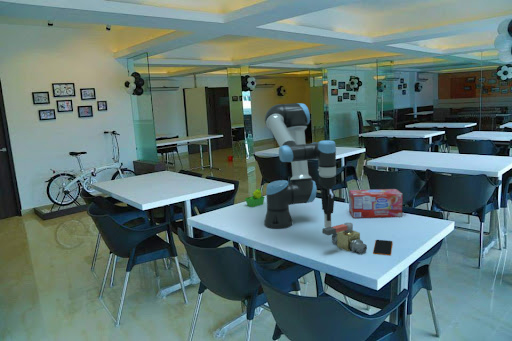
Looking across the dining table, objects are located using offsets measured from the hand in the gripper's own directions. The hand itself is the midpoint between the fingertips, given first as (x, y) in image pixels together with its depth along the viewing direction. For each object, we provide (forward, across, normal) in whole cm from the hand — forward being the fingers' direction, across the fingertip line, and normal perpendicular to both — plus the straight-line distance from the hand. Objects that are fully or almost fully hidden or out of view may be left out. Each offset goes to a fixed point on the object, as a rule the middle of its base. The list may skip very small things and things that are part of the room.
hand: (327, 226), depth 179 cm
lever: (+2, +6, +3) cm, 7 cm away
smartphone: (+10, +9, +22) cm, 26 cm away
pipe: (+9, +4, +8) cm, 13 cm away
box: (+9, -37, +41) cm, 56 cm away
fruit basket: (+9, -78, -21) cm, 81 cm away
